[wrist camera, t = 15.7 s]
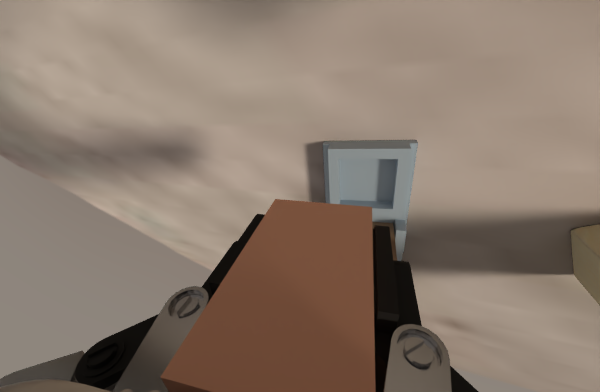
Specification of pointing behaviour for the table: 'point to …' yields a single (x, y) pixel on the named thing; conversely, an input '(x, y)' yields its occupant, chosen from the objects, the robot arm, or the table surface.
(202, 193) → the table surface
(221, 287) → the brown rectangular brick
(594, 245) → the toy refrigerator
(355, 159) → the jig
